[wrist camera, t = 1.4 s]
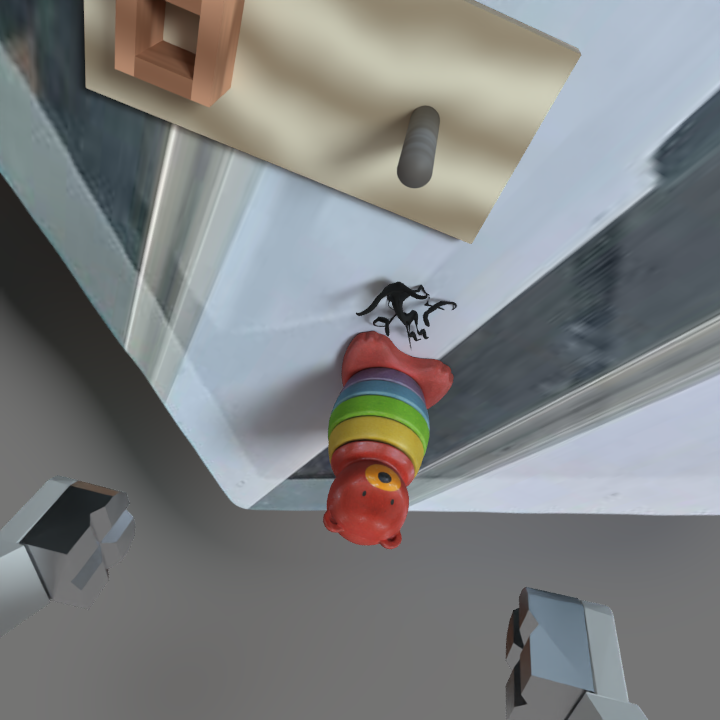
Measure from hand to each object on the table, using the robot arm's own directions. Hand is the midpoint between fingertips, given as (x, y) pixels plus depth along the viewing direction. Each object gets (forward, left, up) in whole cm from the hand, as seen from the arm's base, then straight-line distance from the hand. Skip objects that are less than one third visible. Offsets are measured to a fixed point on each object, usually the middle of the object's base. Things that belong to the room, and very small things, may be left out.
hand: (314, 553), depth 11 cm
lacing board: (+2, -7, -34) cm, 35 cm away
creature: (+18, +6, -34) cm, 39 cm away
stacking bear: (+27, +8, -34) cm, 44 cm away
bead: (+2, -15, -32) cm, 36 cm away
